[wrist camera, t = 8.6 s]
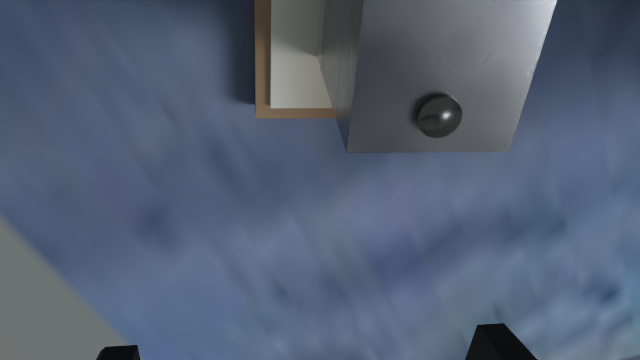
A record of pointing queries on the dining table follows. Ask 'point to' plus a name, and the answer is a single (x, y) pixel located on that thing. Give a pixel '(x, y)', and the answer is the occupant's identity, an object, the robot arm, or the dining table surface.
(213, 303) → the dining table surface
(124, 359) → the robot arm
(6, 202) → the dining table surface
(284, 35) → the wooden picture frame
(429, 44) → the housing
